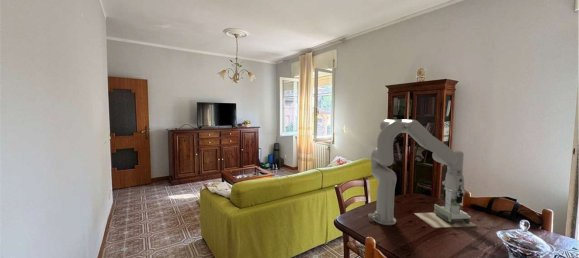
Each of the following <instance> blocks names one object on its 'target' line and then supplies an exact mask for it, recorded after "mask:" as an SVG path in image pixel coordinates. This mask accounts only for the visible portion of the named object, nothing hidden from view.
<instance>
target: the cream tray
mask: <svg viewBox="0 0 579 258" xmlns="http://www.w3.org/2000/svg"><path fill="white" fill-rule="evenodd" d="M413 214H414V215H415V216H417V218H419V219H420V220H422V221H424V222H425V224H427V225H428V226H430V227H432V228H433V229H442V228H443V229H446V228H463V227H465V228H466V227H477V224H475V223H473V222H471V221H470V222H469V223H468V224H467V223H465V222H464V221H455V224H451V223H450V222H448V221H446V220H445V219H443V218H442V217H440V216H438V215H437V214H435V212H434V211H433V212H414V213H413Z"/></svg>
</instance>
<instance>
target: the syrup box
mask: <svg viewBox="0 0 579 258" xmlns="http://www.w3.org/2000/svg"><path fill="white" fill-rule="evenodd" d="M458 191H459V190H458ZM459 194H460V192H459ZM457 196H458V195H457V193H456V192H454V191H453V190H452V189H450V188H446V193H445V197H444V206H443V207H444V209H445V210H447V211H449V212H451V213H452V214H459V213H460V210H461V203H456V199H457Z"/></svg>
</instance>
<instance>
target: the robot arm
mask: <svg viewBox="0 0 579 258" xmlns="http://www.w3.org/2000/svg"><path fill="white" fill-rule="evenodd" d="M379 129H380V130H381V131H380V132H379V134H378V136H377V141H376V142H377V143H376V144H377V145H376V148H374V149H373V150H372V152H371V155H370V160H371V163H370V164H371V174H372V176H373V178H374V179H376V180H377V181H378V184H377V187H376V188H377V189H376V206H375V207H376V210H375V211H374V212H373V213H368V214H367V217H368V218H372V219H373V221H375V222H376V223H377V224H380V225H385V226H394V225H395V224H396V223H397V219H396V218H395V217H394V208H395V189H396V184H397V174H396V172H395V171H394V170H393V169H391V168H389V167H391V166H392V165H393V163H394V140H395V138H396V137H397V136H398V135H399V134H403V133H404V134H408V135H409V136H410V137H411V138H412V139H413V140H414V141H415V142H417V144H418V145H419V146H420V147H422V148H424V149H426V150H428V151H430V152H432V154H431V155H432V156H431V157H432V159H433V160H434V161H435V162H437V163H440V164H442V165H445V166H446V173H445V179H444V180H443V181H441V182H442V186H443V196H444V198H445V193H446V188H450V189H452V190H453V191H454V192H456V193H457V195H458V196H457V199H456V203H460V204H462V203H463V197H464V196H465V195H466V193H467V190H466V189H465V178H464V175H463V173H464V172H463V171H464V170H463V169H464V168H463V167H464V152H463V151H461V150H454V149H453V150H452V149H451V148H450V147H449V146H448V145H446V144H445V143H444V142H442V141H441V140H439V138H437V137H435V136H433V134H431V132H430V131H429V130H427V129H426V128H425V126H423V125H422V124H421V123H420V122H419V121H418V120H417V119H406V118H404V119H402V118H401V119H399V118H398V119H396V118H395V119H391V118H388V119H387V118H386V119H384V120H382V121H381V122H380V125H379ZM458 190H459V191H458ZM459 192H460V194H459Z"/></svg>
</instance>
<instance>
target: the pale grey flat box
mask: <svg viewBox="0 0 579 258" xmlns="http://www.w3.org/2000/svg"><path fill="white" fill-rule="evenodd" d="M444 207H445V206H440V205H438V204H437V203H434V204H433V213H434V212H435V214H437V215H438V216H440V217H442V218H443V219H445V220H446V221H448V222H450V223H451V224H455V221H464V222H465V223H467V224H468V223H469V222H471V221H470V220H471V219H472V216H471V215H469V213H467V212H466V211H463V210H461V209H460V213H459V214H452V213H451V212H449V211H447V210H445V209H444Z"/></svg>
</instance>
